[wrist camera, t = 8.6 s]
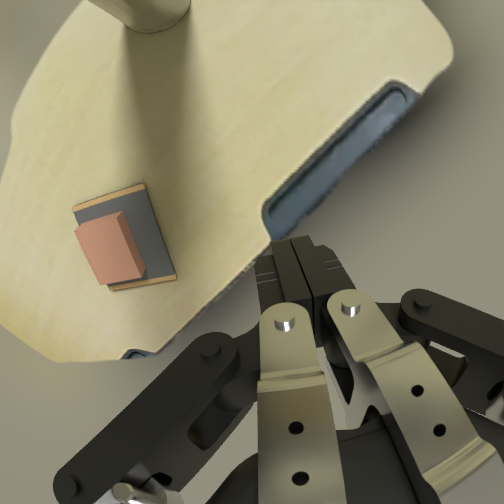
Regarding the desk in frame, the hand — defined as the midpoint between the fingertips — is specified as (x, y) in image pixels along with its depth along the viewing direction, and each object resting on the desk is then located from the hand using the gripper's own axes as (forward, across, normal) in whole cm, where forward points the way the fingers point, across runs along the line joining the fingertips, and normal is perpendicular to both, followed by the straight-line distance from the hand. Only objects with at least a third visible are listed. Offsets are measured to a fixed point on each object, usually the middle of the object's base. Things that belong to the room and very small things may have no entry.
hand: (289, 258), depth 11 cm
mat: (+27, +21, +9) cm, 35 cm away
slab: (+25, +19, +9) cm, 33 cm away
